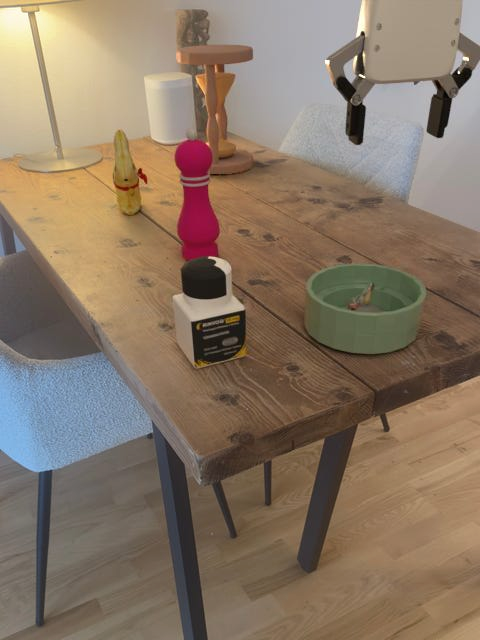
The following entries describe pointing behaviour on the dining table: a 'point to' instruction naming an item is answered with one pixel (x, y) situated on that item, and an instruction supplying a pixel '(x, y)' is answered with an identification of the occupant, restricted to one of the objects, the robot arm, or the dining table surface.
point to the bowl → (364, 327)
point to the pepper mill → (196, 199)
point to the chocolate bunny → (126, 176)
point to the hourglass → (219, 101)
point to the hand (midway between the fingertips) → (395, 138)
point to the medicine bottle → (209, 313)
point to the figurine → (364, 302)
